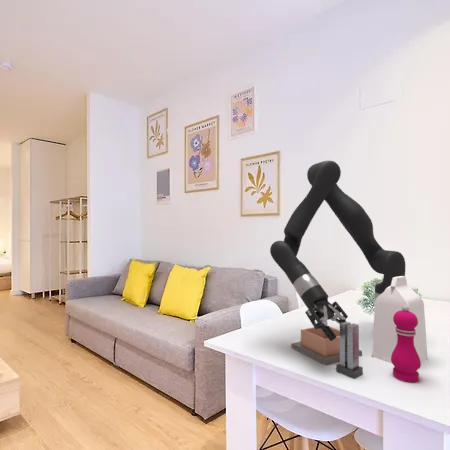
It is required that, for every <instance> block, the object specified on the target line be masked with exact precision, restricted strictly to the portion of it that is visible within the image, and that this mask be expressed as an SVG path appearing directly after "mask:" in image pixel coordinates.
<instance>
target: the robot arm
mask: <svg viewBox="0 0 450 450" xmlns="http://www.w3.org/2000/svg"><path fill="white" fill-rule="evenodd" d="M341 174H342V171H341V167H340V165H339V164H338V163H337V162H336V161H334V160H324V161H320V162H316V163H314V164H312V165H311V166H309V168H308V170H307V173H306V176H307V181H308V183H309V184H310V186H311V187H310V190H309V191H308V192H307V194H306V196H305V197H304V199H303V200H302V201H301V202H300V203H299V204H298V205H297V207H296V208H294V211H293V212H292V214H291V216H290V217H289V219H288V221H287V223H286V225H285V227H284V228H283V233H284V239H283V240H277V241H275V242H273V243H272V244H271V245H270V248H269V251H270V256H271V257H272V259H273V260H274V262H275V263H276V264H277V266H278V267H280V269H281V270H282V272H284V274H285V275H286V277H287V278H288V280H289V281H290V283H291V284H292V286H293V287H294V289H295V291H296V293H297V295H298V296H299V298H300V299H301V300H302V302H303V303H304V305H305V307H306V308H307V310H306V311H305V315H306V316H307V318H308V320H309V321H310V322H311V324H312V327H314V328H315V329H318V328H319V329H320V330H323V332H324V333H325V335H326V336H327V338H328V339H329V340H330V341H333V340H334V339H335V338H336V335H335V334H334V332H333V331H332V330H331V328H330V327H331V326H330V325H329V324H328V321H329V320H331V321H332V322H336V323H337V324H339V325H340V323H343V322H347V319H348V317H349V315H348V314H347V313H346V312H345V310H344V309H343V308H342V306H340V304H339V303H338V302H337V301H336V300H335V301H333V302H332V303H331V302H329V301H328V300H329V295H328V294H327V292H326V291H325V289H324V288H323V287H322V285H321V284H320V283H319V281H318V280H317V279H316V277H315V276H314V275H313V274H312V273H311V272H310V270H309V269H308V268H307V266H306V265H305V264H304V263H303V262H302V261H301V260H299V258H298V257H297V256H298V254H299V250H300V247H301V245H302V244H301V243H302V239H303V237H304V235H305V234H306V231H307V230H308V228H309V226H310V224H311V222H312V220H313V219H314V217H315V215H316V213H317V212H318V210H319V208H320V207H321V205H323V202H324V201H325V202H326V203H327V205H328V206H329V208H330V209H331V211H332V212H333V213H334V215H335V217H336V218H337V219H338V221H339V222H340V223H341V225H342V226H343V227H344V229H345V231H347V233H348V234H349V235H350V236H351V238H352V240H353V241H354V242H355V243H356V245H357V246H358V247H359V249H360V250H361V253H362V254H363V255H364V258H365V259H366V262H367V263H368V264H369V266H370V267H371V269H372V270H373V271H374V272H376V273H377V274H381V275H383V276H382V277H383V279H382V282H378V283H376V284H375V285H374V301H375V300H376V298H377V297H378V296H379V295H380V294H382V293H383V292H384V291H385V289H386V288H387V287H389V286H391V282H392V278H393V277H398V276H406V259H405V257H404V255H403V254H402V252H399V251H397V250H385V249H384V248H383V247H382V246H381V245H380V244H379V242H378V241H377V240H376V238H375V236H374V235H375V234H374V225H373V222H372V219H371V218H370V215H368V213H367V212H366V210H365V209H364V208H363V206H361V204H359V203H358V202H357V201H356V200H355V199H354V198H352V197H351V196H349V195H348V194H347V193H346V192H344V191H343V190H342V188H340V186H339V185H338V182H339V180H340V178H341V176H342V175H341ZM329 326H330V327H329Z"/></svg>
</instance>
